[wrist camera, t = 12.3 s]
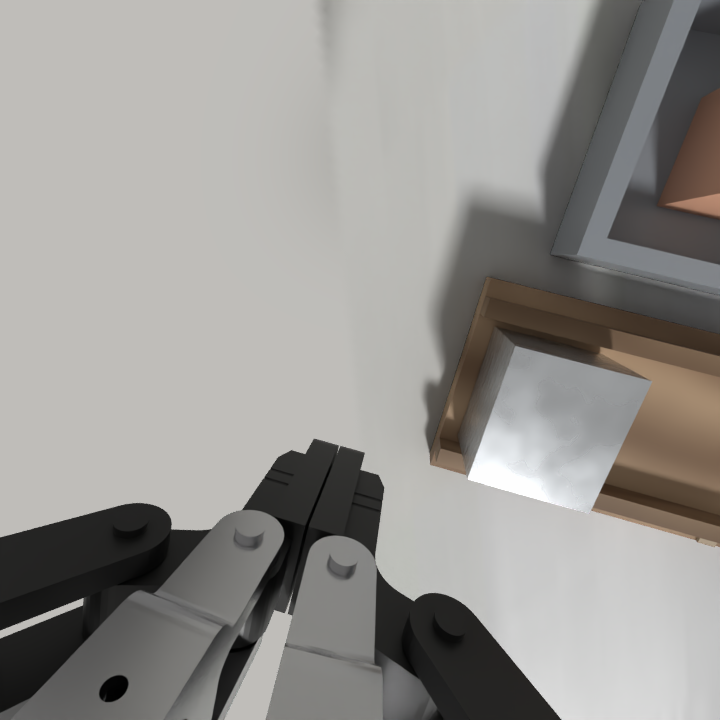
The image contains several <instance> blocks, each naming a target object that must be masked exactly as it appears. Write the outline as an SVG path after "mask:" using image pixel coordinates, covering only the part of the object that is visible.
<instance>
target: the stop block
mask: <svg viewBox="0 0 720 720" xmlns="http://www.w3.org/2000/svg"><path fill="white" fill-rule="evenodd" d="M657 206H659V207H663V208H668V209H672V210H677V211H681V212H686V213H690V214H695V215H700V216H704V217H709V218H713V219H718V220H720V88H719V89H717V90H715V91H713V92H711V93H710V94H708V95H706V96H704V97H702V98H701V101H700V103H699V105H698V108H697V110H696V113H695V115H694V117H693V120H692V122H691V125H690V127H689V129H688V132H687V134H686V137H685V139H684V141H683V144H682V146H681V149H680V151H679V153H678V156H677V158H676V161H675V163H674V165H673V168H672V170H671V173H670V175H669V177H668V180H667V182H666V185H665V187H664V189H663V192H662V194H661V197H660V199H659V201H658V204H657Z"/></svg>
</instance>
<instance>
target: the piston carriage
mask: <svg viewBox="0 0 720 720" xmlns="http://www.w3.org/2000/svg"><path fill="white" fill-rule="evenodd" d="M651 383H652V381H651V380H649V379H647V378H645V377H643V376H642V375H640V374H638V373H636V372H634V371H632V370H631V369H629V368H627V367H625V366H623V365H621V364H620V363H618V362H616V361H614V360H612V359H610V358H609V357H607V356H605V355H603V354H601V353H597V352H593V351H589V350H585V349H581V348H577V347H573V346H569V345H566V344H562V343H558V342H554V341H550V340H546V339H542V338H538V337H534V336H530V335H527V334H523V333H519V332H515V331H511V330H507V329H503V328H499V327H494V330H493V333H492V336H491V339H490V342H489V345H488V348H487V350H486V353H485V356H484V359H483V362H482V365H481V368H480V371H479V374H478V377H477V380H476V383H475V386H474V389H473V392H472V395H471V397H470V400H469V403H468V406H467V409H466V412H465V415H464V418H463V421H462V424H461V427H460V430H459V433H458V439H459V443H460V448H461V453H462V457H463V462H464V466H465V471H466V475H467V479H468V480H472V481H475V482H479V483H482V484H486V485H489V486H493V487H496V488H500V489H503V490H507V491H510V492H514V493H517V494H521V495H524V496H528V497H531V498H535V499H538V500H542V501H545V502H549V503H552V504H556V505H559V506H563V507H566V508H570V509H573V510H577V511H580V512H584V513H587V514H589V513H590V511H591V509H592V507H593V505H594V503H595V501H596V499H597V497H598V495H599V493H600V490H601V488H602V486H603V484H604V482H605V480H606V478H607V476H608V474H609V472H610V469H611V467H612V465H613V463H614V461H615V459H616V457H617V455H618V453H619V451H620V448H621V446H622V444H623V442H624V440H625V438H626V436H627V434H628V432H629V430H630V427H631V425H632V423H633V421H634V419H635V417H636V415H637V413H638V411H639V409H640V407H641V404H642V402H643V400H644V398H645V396H646V394H647V392H648V390H649V388H650V386H651Z"/></svg>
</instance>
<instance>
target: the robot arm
mask: <svg viewBox="0 0 720 720" xmlns="http://www.w3.org/2000/svg"><path fill="white" fill-rule="evenodd" d="M338 447H339V446H338V445H335V444H332V443H328V442H325V441H321V440H317V439H314V440H313V442H312V443H311V445H310V447H309V449H308V450H307V452H306V454H303V453H299V452H296V451H292V450H291V451H289V452H287V453H285V454H283V455H282V456H280V457H278V458H277V460H276V461H275V463H274V464H273V466H272V467H271V469H270V470H269V471H268V473H267V474H266V476H265V478H264V479H263V480H262V482H261V483H260V485H259V486H258V487H257V489H256V490H255V492H254V493H253V495H252V496H251V498H250V499H249V501H248V502H247V504H246V505H245V507H244V508H243V509H242V510H241V511H236V512H233V513H230V514H228V515H226V516H225V517H223V518H222V519H221V520H220V521H219V522H218V523H217V524H216V525H215V526H214V527H213V528H212V529H210V530H197V531H196V530H171V525H172V524H171V518H170V516H169V515H168V514H167V512H165V511H164V510H163V509H161V508H159V507H157V506H154V505H150V504H144V503H133V504H125V505H121V506H117V507H114V508H110V509H106V510H102V511H98V512H95V513H91V514H87V515H83V516H79V517H76V518H72V519H68V520H64V521H61V522H57V523H53V524H49V525H46V526H42V527H38V528H34V529H31V530H27V531H23V532H20V533H16V534H12V535H8V536H4V537H1V538H0V630H3V629H5V628H7V627H10V626H12V625H15V624H18V623H20V622H23V621H25V620H28V619H30V618H33V617H36V616H38V615H41V614H43V613H46V612H48V611H51V610H54V609H56V608H59V607H61V606H64V605H66V604H69V603H72V602H74V601H77V600H79V599H82V598H84V602H83V606H80V607H78V608H76V609H73V610H71V611H68V612H65V613H63V614H60V615H58V616H56V617H53V618H51V619H48V620H46V621H43V622H41V623H38V624H36V625H33V626H31V627H28V628H26V629H23V630H21V631H18V632H16V633H13V634H11V635H8V636H6V637H3V638H1V639H0V720H224V718H225V716H226V714H227V712H228V710H229V708H230V706H231V704H232V702H233V700H234V698H235V696H236V694H237V692H238V690H239V688H240V686H241V684H242V682H243V680H244V678H245V676H246V673H247V671H248V669H249V667H250V665H251V663H252V661H253V659H254V657H255V655H256V653H257V651H258V649H259V647H260V644H261V641H262V636H263V633H264V632H265V630H266V628H267V626H268V624H269V621H270V619H271V616H272V614H273V612H274V610H276V611H280V612H283V613H285V611H286V609H287V606H288V603H289V600H290V597H291V595H292V599H291V603H290V607H289V612H288V614H290V615H293V616H292V620H291V624H290V628H289V632H288V636H287V640H286V643H285V647H284V650H283V654H282V658H281V662H280V666H279V670H278V674H277V678H276V681H275V685H274V689H273V693H272V697H271V701H270V705H269V709H268V713H267V717H266V720H561V719H560V717H559V716H558V715H557V714H556V713H555V711H554V710H553V709H552V708H551V707H550V705H549V704H548V703H547V702H546V701H545V699H544V698H543V697H542V696H541V694H540V693H539V692H538V691H537V690H536V688H535V687H534V686H533V685H532V684H531V682H530V681H529V680H528V679H527V678H526V676H525V675H524V674H523V673H522V671H521V670H520V669H519V668H518V667H517V665H516V664H515V663H514V662H513V661H512V659H511V658H510V657H509V656H508V655H507V653H506V652H505V651H504V650H503V649H502V647H501V646H500V645H499V644H498V642H497V641H496V640H495V639H494V638H493V636H492V635H491V634H490V633H489V632H488V630H487V629H486V628H485V627H484V626H483V624H482V623H481V622H480V621H479V619H478V618H477V617H476V616H475V615H474V614H473V613H472V611H471V610H470V609H468V608H467V607H466V606H465V605H464V604H462V603H461V602H459V601H458V600H456V599H454V598H452V597H449V596H447V595H443V594H438V593H428V594H424V595H422V596H420V597H419V598H417V599H416V600H415V601H412V600H411V599H409V598H408V597H406V596H404V595H403V594H401V593H399V592H398V591H397V590H395V589H394V588H393V587H391V586H390V585H389V584H388V583H387V582H386V581H385V580H384V578H383V577H382V575H381V574H380V572H379V570H378V568H377V565H376V561H375V552H376V544H377V537H378V530H379V522H380V515H381V508H382V500H383V493H384V486H383V484H382V482H381V480H380V477H379V475H376V474H373V473H369V472H366V471H362V470H360V469H361V465H362V462H363V458H364V454H365V453H364V452H360V451H357V450H353V449H350V448H346V447H342V446H340V449H339V451H338ZM337 452H338V453H337ZM292 592H293V594H292Z"/></svg>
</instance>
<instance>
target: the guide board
mask: <svg viewBox="0 0 720 720" xmlns="http://www.w3.org/2000/svg"><path fill="white" fill-rule="evenodd" d="M494 327H499V328H503V329H507V330H511V331H515V332H519V333H523V334H527V335H530V336H534V337H538V338H542V339H546V340H550V341H554V342H558V343H562V344H566V345H569V346H573V347H577V348H581V349H585V350H589V351H593V352H597V353H601V354H603V355H605V356H607V357H609V358H610V359H612V360H614V361H616V362H618V363H620V364H621V365H623V366H625V367H627V368H629V369H631V370H632V371H634V372H636V373H638V374H640V375H642V376H643V377H645V378H647V379H649V380H651V381H652V383H651V386H650V388H649V390H648V392H647V394H646V396H645V398H644V400H643V402H642V404H641V407H640V409H639V411H638V413H637V415H636V417H635V419H634V421H633V423H632V425H631V427H630V430H629V432H628V434H627V436H626V438H625V440H624V442H623V444H622V446H621V448H620V451H619V453H618V455H617V457H616V459H615V461H614V463H613V465H612V467H611V469H610V472H609V474H608V476H607V478H606V480H605V482H604V484H603V486H602V488H601V490H600V493H599V495H598V497H597V499H596V501H595V503H594V505H593V507H592V509H591V510H592V511H595V512H599V513H602V514H606V515H609V516H613V517H616V518H620V519H623V520H627V521H630V522H634V523H637V524H641V525H644V526H648V527H651V528H655V529H658V530H662V531H665V532H669V533H672V534H676V535H680V536H683V537H687V538H690V539H694V540H696V541H697V542H698V543H702V544H705V545H709V546H712V547H715V546H718V547H720V334H716V333H712V332H708V331H704V330H700V329H696V328H692V327H688V326H684V325H680V324H676V323H672V322H668V321H664V320H660V319H656V318H652V317H648V316H644V315H640V314H636V313H632V312H628V311H624V310H619V309H615V308H611V307H607V306H603V305H599V304H595V303H591V302H587V301H583V300H579V299H575V298H571V297H567V296H563V295H559V294H555V293H551V292H547V291H543V290H539V289H535V288H531V287H527V286H523V285H518V284H514V283H510V282H506V281H502V280H498V279H494V278H490V277H486V280H485V283H484V287H483V290H482V293H481V296H480V299H479V302H478V305H477V308H476V311H475V314H474V318H473V321H472V324H471V327H470V330H469V333H468V336H467V339H466V342H465V345H464V349H463V352H462V355H461V358H460V361H459V364H458V367H457V370H456V373H455V376H454V380H453V383H452V386H451V389H450V392H449V395H448V398H447V401H446V404H445V407H444V411H443V414H442V417H441V420H440V423H439V426H438V429H437V432H436V435H435V439H434V442H433V445H432V448H431V451H430V465H433V466H437V467H440V468H444V469H447V470H451V471H454V472H458V473H461V474H465V475H466V471H465V466H464V462H463V457H462V453H461V448H460V443H459V439H458V433H459V430H460V427H461V424H462V421H463V418H464V415H465V412H466V409H467V406H468V403H469V400H470V397H471V395H472V392H473V389H474V386H475V383H476V380H477V377H478V374H479V371H480V368H481V365H482V362H483V359H484V356H485V353H486V350H487V348H488V345H489V342H490V339H491V336H492V333H493V330H494Z"/></svg>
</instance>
